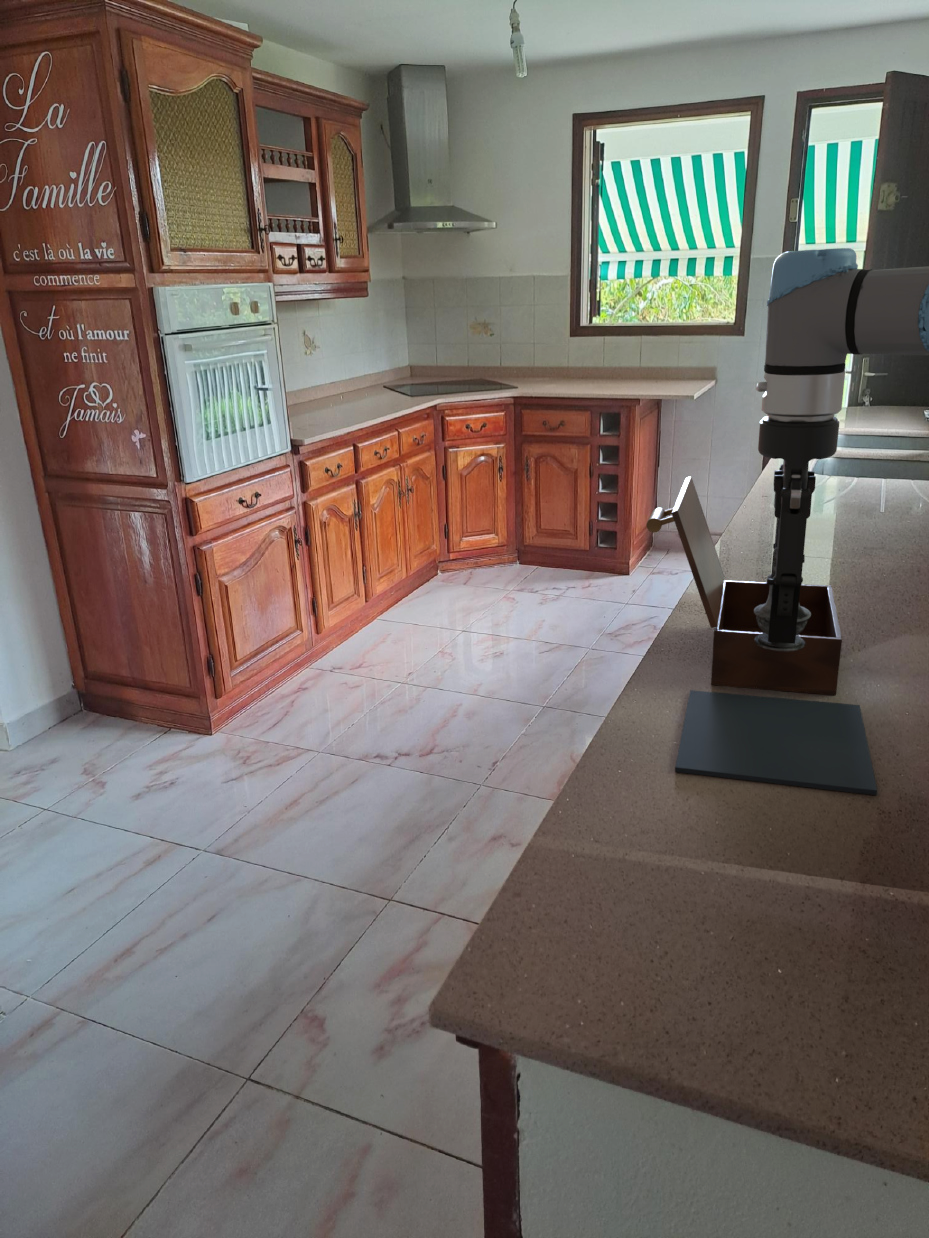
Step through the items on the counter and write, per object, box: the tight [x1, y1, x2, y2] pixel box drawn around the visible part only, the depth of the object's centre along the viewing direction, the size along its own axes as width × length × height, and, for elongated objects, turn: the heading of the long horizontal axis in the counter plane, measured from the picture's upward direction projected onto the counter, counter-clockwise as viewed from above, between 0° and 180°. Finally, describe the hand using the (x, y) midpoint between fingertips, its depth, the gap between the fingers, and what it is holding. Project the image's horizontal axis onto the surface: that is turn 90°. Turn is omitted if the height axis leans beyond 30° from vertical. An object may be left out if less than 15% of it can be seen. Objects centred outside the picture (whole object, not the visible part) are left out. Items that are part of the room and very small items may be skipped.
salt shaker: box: [754, 547, 811, 651], centre depth 95 cm, size 6×6×12 cm
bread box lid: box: [645, 475, 726, 629], centre depth 121 cm, size 16×21×6 cm
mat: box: [674, 689, 878, 796], centre depth 101 cm, size 20×20×1 cm
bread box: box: [710, 579, 843, 696], centre depth 121 cm, size 15×21×8 cm
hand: (781, 629), depth 96 cm, fingers closed on salt shaker, 6 cm apart
